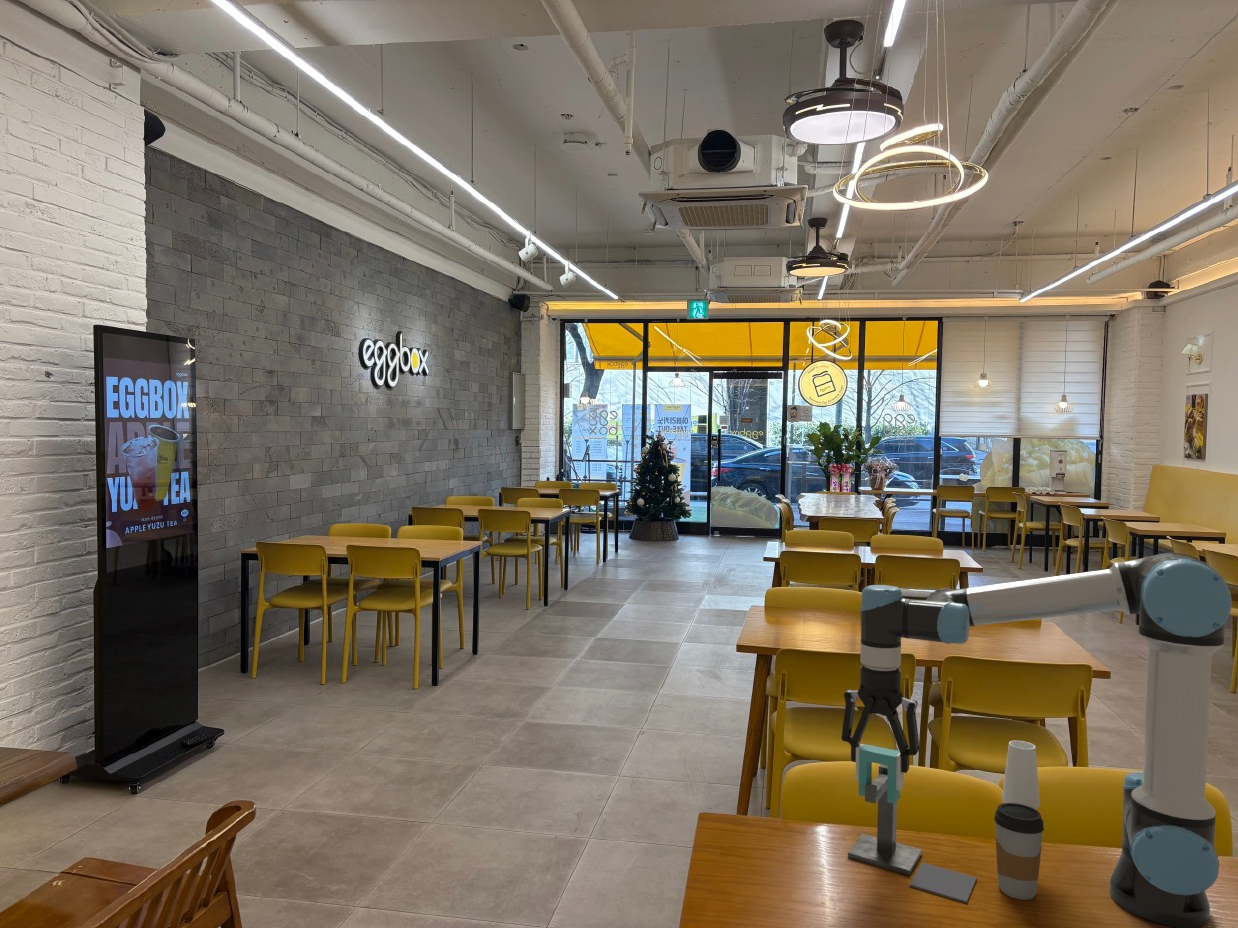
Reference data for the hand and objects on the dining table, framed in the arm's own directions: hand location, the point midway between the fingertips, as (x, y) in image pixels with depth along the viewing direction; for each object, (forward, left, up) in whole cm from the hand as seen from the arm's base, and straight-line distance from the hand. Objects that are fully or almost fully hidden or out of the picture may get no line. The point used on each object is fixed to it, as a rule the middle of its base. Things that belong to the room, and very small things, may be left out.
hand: (879, 782), depth 157 cm
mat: (-12, -2, -17) cm, 21 cm away
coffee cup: (-24, -7, -17) cm, 30 cm away
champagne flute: (-23, -18, -17) cm, 34 cm away
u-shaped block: (0, 0, -3) cm, 3 cm away
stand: (0, -3, -17) cm, 17 cm away
